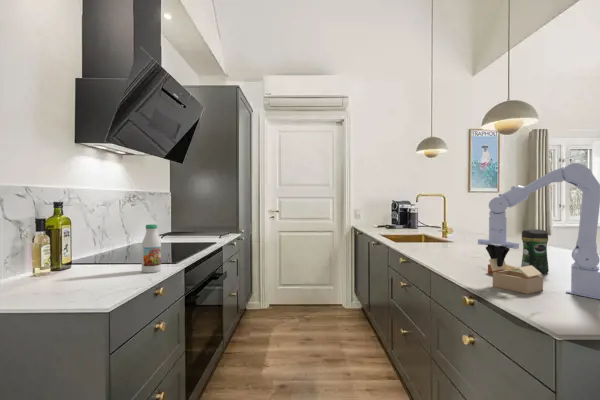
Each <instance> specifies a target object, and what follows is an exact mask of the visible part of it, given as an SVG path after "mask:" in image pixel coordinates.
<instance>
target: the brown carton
mask: <svg viewBox="0 0 600 400" xmlns="http://www.w3.org/2000/svg"><path fill="white" fill-rule="evenodd" d="M492 287H494V288H498V289H503V290H506V291H507V290H508V291H511V292H515V291H516V293H520V292H521V293H522V294H524V293H525V295H530V294H534V293H538V292H543V290H544V276H543V275H538V276H533V277H527V276H526V275H524V274H523V273H522V272H518V271H512V270H505V271H499V272H493V275H492Z"/></svg>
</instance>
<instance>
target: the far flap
mask: <svg viewBox="0 0 600 400" xmlns="http://www.w3.org/2000/svg"><path fill="white" fill-rule="evenodd" d="M488 262H489V264H490V265H491V268H492V271H495V270H501V269H507V267H506V265H507V264H506V261H505V260H504V262H503V266H501V267H498V266H497V258H496V259H491V258H489V259H488Z"/></svg>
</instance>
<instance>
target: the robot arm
mask: <svg viewBox="0 0 600 400" xmlns="http://www.w3.org/2000/svg"><path fill="white" fill-rule="evenodd" d="M562 182H567V183H568V184H570V185H573V186H574V187H575V188H577V189H578V190H579V191H580V192H581V193H582V196H581V204H580V215H579V225H578V232H577V233H578V235H577V239H576V242H575V243H576V244H575V247H574V249H573V250H572V251H571V258H572V260H573V261H574V263H572V264H571V266H570V268H571V270H570V271H571V272H570V277H571V279H570V280H571V281H570V283H571V284H570V289H568V290H565V293H567V294H572V295H577V296H581V297H586V298H591V299H595V300H600V267H599V266H598V265H599V263H600V256H599V254H598V252H597V251H598V247H597V246H598V245H597V234H598V225H599V216H600V182H599V181H598V179H597V178H596V177H595V175H594V174H593V172H592V170H591V169H590V168H589V167H587V166H585V165H584V164H583V163H579V162H572V163H569V164H567V165H566V166H565V167H564V166H563V167H559V168H557V169H554V170H551V171H550V172H548V173H546V174H544V175H542V176H540V177H539V178H537V179H536V180H533V181H532V182H529V183H528V184H526V185H524V186H523V185H517V186H511V187H510V189H509V190H507V191H505V192H504V193H499V194H498V195H497V196H495V197H493V198H492V199H491V200H490V201H489V203H488V209H489V213H488V214H489V217H488V239H482V238H478V239H477V245H483V246H485V250H486V251H487V253H488V255H489V257H490V258H489V259H496V258H497V266H498V267H501V266H503V262H504V261H505V259H506V257H507V255H508V253H509V252H510V249H514V250H519V249H520V243H518V242H511V241H507V216H506V215H507V214H506V213H507V211H506V210H507V208H513V207H515V206H517V205H518V204H520V203H522V202H525V201H526V200H528V199H529V196H530V194H532V193H533V192H535V191H538V190H540V189H542V188H544V187H545V186H548V185H550V184H552V183H562Z"/></svg>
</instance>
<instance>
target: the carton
mask: <svg viewBox="0 0 600 400" xmlns="http://www.w3.org/2000/svg"><path fill="white" fill-rule="evenodd" d="M506 267H507V269H501V270H495V271H492V268H491V265H490V263H489V264H487V273H488V274H489V275H491V276H493V272H499V271H505V270H512V271H518V272H521V271H520V270H519V269H518V268H519V267H515V266H512V265H510V264H509V265H508V264H506Z"/></svg>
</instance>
